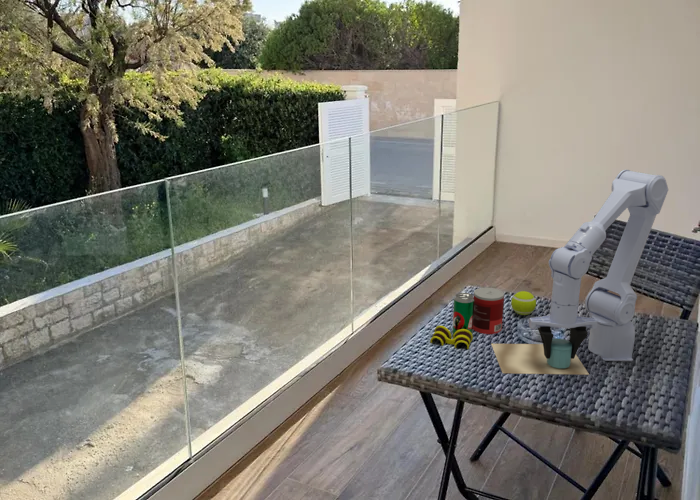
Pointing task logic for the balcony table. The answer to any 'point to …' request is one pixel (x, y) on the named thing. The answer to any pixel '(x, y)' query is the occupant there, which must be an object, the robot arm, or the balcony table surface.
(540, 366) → the birch board
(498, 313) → the canned food
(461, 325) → the soda can
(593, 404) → the balcony table surface
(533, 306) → the tennis ball
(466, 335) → the opera glasses
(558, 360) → the teal cap
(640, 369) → the balcony table surface
